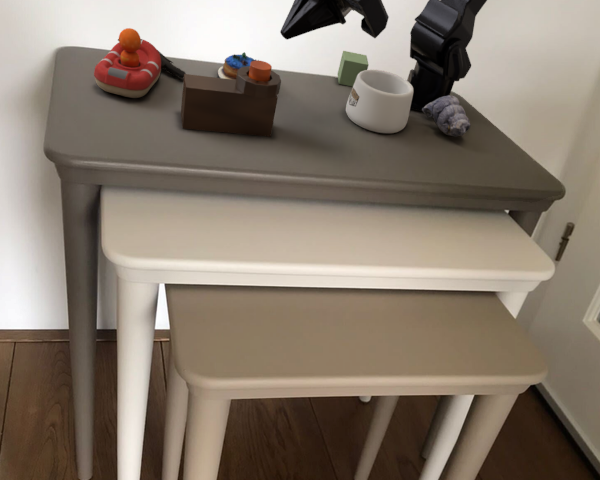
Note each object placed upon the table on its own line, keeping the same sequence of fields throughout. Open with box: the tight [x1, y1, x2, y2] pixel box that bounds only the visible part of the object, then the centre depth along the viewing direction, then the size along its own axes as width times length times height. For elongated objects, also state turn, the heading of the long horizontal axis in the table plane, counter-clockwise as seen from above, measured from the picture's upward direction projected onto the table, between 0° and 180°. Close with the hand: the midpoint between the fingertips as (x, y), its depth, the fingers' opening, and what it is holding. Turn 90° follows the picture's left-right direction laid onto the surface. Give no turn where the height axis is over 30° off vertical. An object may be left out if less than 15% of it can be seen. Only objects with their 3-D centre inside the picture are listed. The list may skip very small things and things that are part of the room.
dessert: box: [217, 52, 260, 80], centre depth 103 cm, size 8×7×6 cm
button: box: [249, 59, 273, 82], centre depth 87 cm, size 3×3×2 cm
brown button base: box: [180, 66, 282, 138], centre depth 89 cm, size 12×6×8 cm, turn 101°
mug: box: [345, 69, 413, 134], centre depth 101 cm, size 12×10×6 cm
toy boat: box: [93, 27, 162, 99], centre depth 92 cm, size 8×12×8 cm, turn 173°
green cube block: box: [337, 50, 369, 88], centre depth 110 cm, size 4×4×4 cm
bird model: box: [117, 38, 187, 79], centre depth 100 cm, size 3×14×3 cm, turn 61°
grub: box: [421, 94, 472, 137], centre depth 103 cm, size 5×5×10 cm
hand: (283, 36), depth 85 cm, fingers closed
